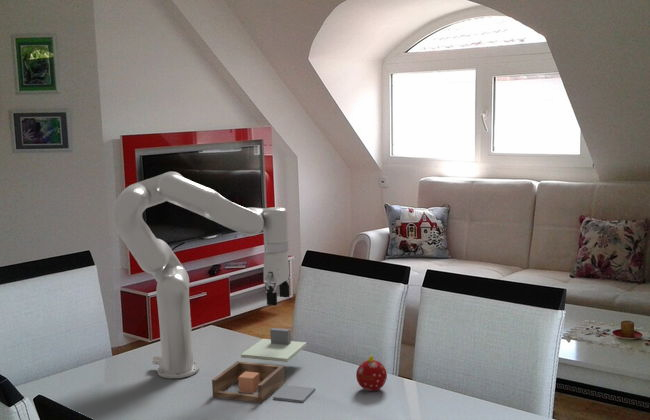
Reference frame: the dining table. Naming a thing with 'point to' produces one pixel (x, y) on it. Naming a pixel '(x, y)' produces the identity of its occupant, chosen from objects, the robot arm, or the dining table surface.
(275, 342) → the lid
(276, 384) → the board
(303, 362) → the dining table surface
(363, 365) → the christmas ornament
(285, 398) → the pad
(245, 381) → the block
